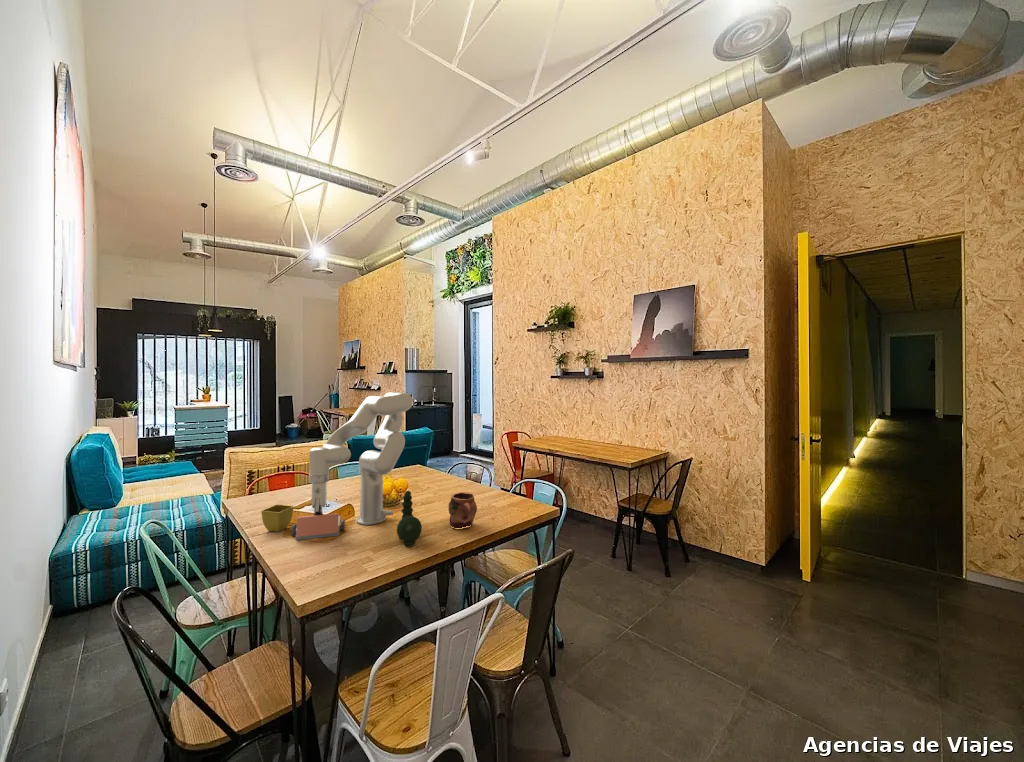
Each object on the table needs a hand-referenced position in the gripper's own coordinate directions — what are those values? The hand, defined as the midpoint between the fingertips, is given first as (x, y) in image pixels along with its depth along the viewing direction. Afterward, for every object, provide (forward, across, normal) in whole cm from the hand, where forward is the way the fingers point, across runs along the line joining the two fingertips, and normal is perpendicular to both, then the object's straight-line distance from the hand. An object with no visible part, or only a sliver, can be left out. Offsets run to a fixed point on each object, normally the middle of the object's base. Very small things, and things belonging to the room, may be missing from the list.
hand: (317, 522), depth 172 cm
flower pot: (+6, +12, +16) cm, 21 cm away
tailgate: (+4, -3, 0) cm, 5 cm away
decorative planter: (+5, -8, -58) cm, 59 cm away
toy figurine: (+5, -15, -34) cm, 38 cm away
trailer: (+5, +6, 0) cm, 8 cm away
